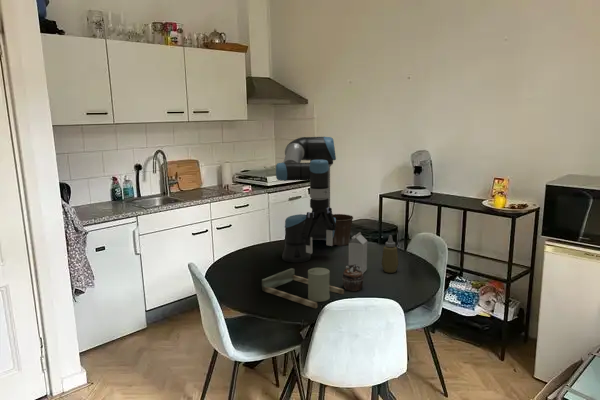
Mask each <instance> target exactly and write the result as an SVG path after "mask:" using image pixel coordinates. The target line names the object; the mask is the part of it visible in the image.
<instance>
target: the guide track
mask: <svg viewBox="0 0 600 400" xmlns="http://www.w3.org/2000/svg"><path fill="white" fill-rule="evenodd" d="M295 271H296V270H295V268H292V267H291V268H289V269H286V270H283V271H280V272H277V273H275V274H273V275H270V276H268V277H266V278H262V279H261V290H262V291H263V292H265V293H268V294H271V295H274V296H277V297H280V298H283V299H285V300H289V301H292V302H295V303H298V304H301V305H303V306H307V307H310V308H313V309H317V308H318V302H316V301H312V300H310V299H308V298H304V297H300V296H298V295H294V294H292V293H288V292H285V291H282V290H279V289H276V288H277V287H279V286H282V285H285V284H287V283H290V282H292V281H295V282H298V283H301V284H306V285H308V278H305V277H303V276H299V275H296V274H295ZM329 292H331V293H336V294H339V295H344V294H345V289H344V288H341V287H337V286H334V285H331V284H329Z"/></svg>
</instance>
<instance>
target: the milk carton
mask: <svg viewBox="0 0 600 400" xmlns="http://www.w3.org/2000/svg"><path fill="white" fill-rule="evenodd" d="M354 264H356V266H359V267H360V268H361V269H362V270H361V272H362V274H363V275H364V273H365V272H366V271H367V270H368V239H366V238H365V237H364V236H363V235H362V233H361V231H359V232H358V233H357V234H355V235H353V236H351V240H350V241H349V244H348V265H354Z"/></svg>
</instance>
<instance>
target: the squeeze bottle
mask: <svg viewBox="0 0 600 400" xmlns="http://www.w3.org/2000/svg"><path fill="white" fill-rule="evenodd" d="M382 249H383V250H382V258H381V266H382V269H383V271H384V273H389V274H391V273H396V272H397V269H398V267H399V255H398V254H399V253H398V247H397V246H396V242H395V241H394V240H393V235H391V234H389V235H388V240H387V241H386V242H385V245H384V246H383V248H382Z"/></svg>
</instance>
